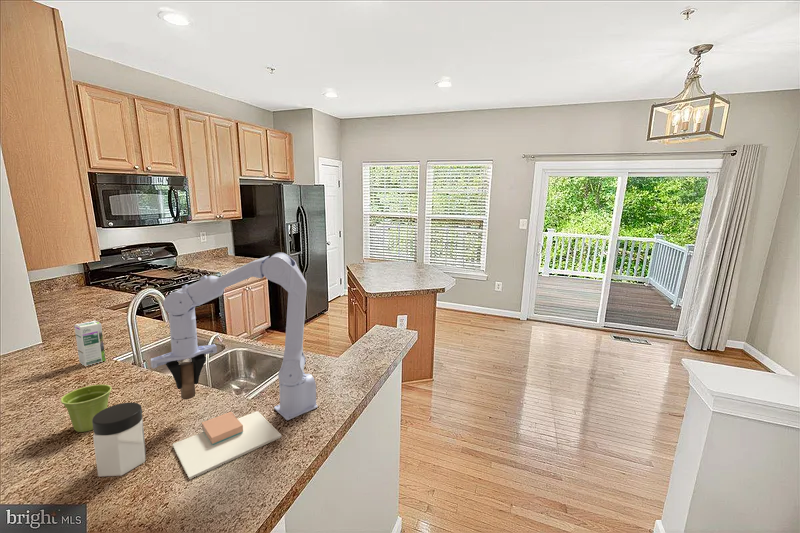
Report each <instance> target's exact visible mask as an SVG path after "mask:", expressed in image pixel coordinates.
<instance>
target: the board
mask: <svg viewBox="0 0 800 533" xmlns="http://www.w3.org/2000/svg"><path fill="white" fill-rule="evenodd" d="M237 419H238V420H239V421H240V423H241V424H242V425H243V433H241V434H238V435H236V436H234V437H231V438H229V439H226V440H224V441H222V442H219V443H217V444H215V445H212V444H211V442H210V440H209V439H208V437H207V436H206V434H205V433H204V431H202V432H199V433H197V434H195V435H191V436H190V437H187V438H184V439H181V440H179V441H177V442H174V443H172V448H173V450H174V452H175V454H176V456H177V458H178V460H179V462H180V464H181V466H182V468H183V470H184V473H185V475H186V474H187V475H186V476H188V477H187V479H188V478H189V479H190V480H192V478H193V479H194V477H195V478H197V477H199V476H201V475H203V474H205V473H208V472H210V471H212V470H214V469H216V468H218V467H220V466H222V464H223V465H225V464H227V463H230V462H231V461H233V460H236V459H238V458H240V457H242V456H244V455H246V454H248V453H251V452H253V451H254V450H257V449H260V448H261V447H263V446H265V445H267V444H269V443H272V442H274V441H277V440H279V439H280V438H282V434H281V433H280V432H279V430H278V429H276V428H275V427H274V426H273V425H272V423H270V422H269V421H268V420H267V419H266V418H265V416H263V415H262V413H261V412H259V410H257V411H254V412H251V413H249V414H246V415H244V416H241V417H239V418H237ZM224 463H225V464H224ZM207 471H208V472H207ZM196 476H197V477H196ZM189 479H188V480H189Z"/></svg>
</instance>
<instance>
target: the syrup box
mask: <svg viewBox="0 0 800 533" xmlns="http://www.w3.org/2000/svg"><path fill="white" fill-rule="evenodd" d="M102 327H103V326H102V323H101V322H100V321H97V320H92V321H87V322H81V323H77V324H74V333H75V339H76V346H77V354H78V361H79V362H80V363H81V364H82V365H81V364H80V363H79V364H80V365H81V366H83V365H84V366H88V365H91V366H93V365H92V364H94V365H96V364H95V363H98V364H100V363H99V362H102V363H104V362H103V361H105V362H106V361H107V360H106V352H105V345H104V336H103V328H102ZM84 366H83V367H84ZM88 367H89V366H88Z"/></svg>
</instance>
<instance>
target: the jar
mask: <svg viewBox="0 0 800 533" xmlns="http://www.w3.org/2000/svg"><path fill="white" fill-rule="evenodd" d="M92 423H93V430H92V431H93V435H92V438H93V447H94V455H95V463H96V470H97V477H99V478H100V477H115V476H116V477H120V476H121V477H122V476H124V475H125V474H127V473H128V472H130V471H132V470H134V469H136V468H137V467H138V466H140V465H142V464H143V463H145V462H146V452H147V451H146V441H145V432H144V430H145V429H144V421H143V409H142V405H141V404H140V403H137V402H123V403H118V404H115V405H112V406H107V408H106V409H104V410H102V411H100V412H99V413H97V414H96V415H95V416H94V417H93V419H92Z"/></svg>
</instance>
